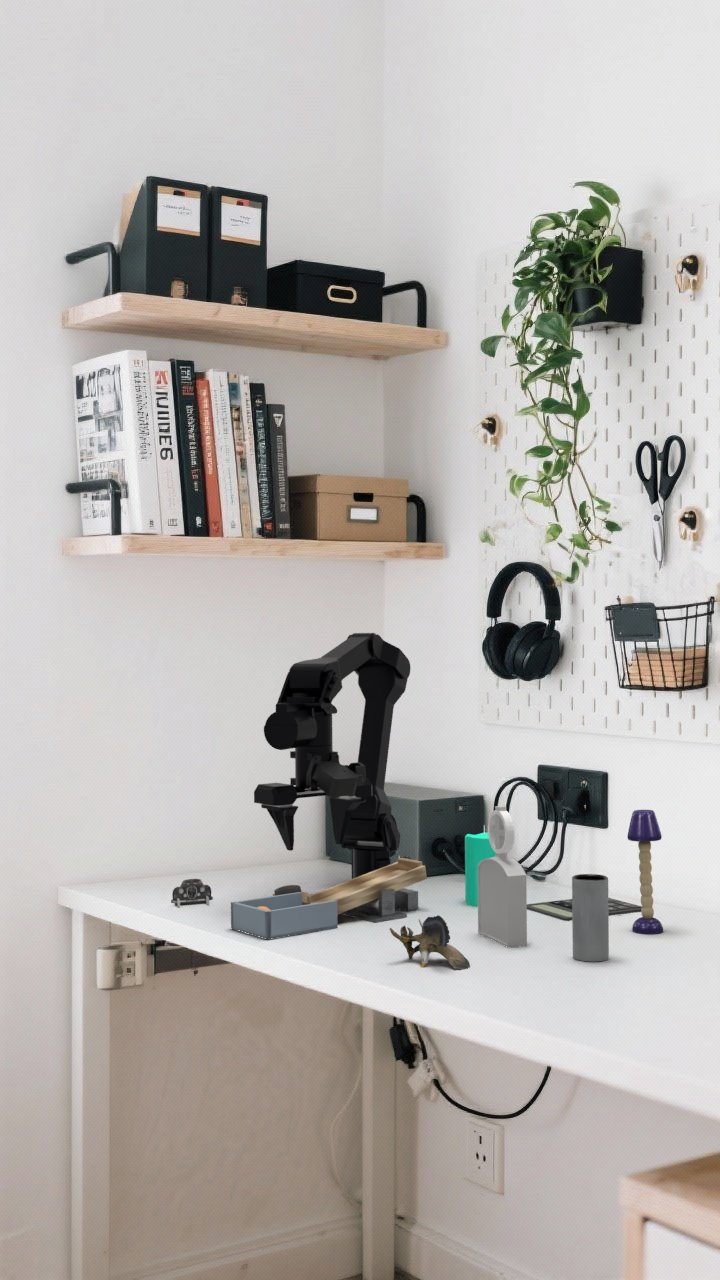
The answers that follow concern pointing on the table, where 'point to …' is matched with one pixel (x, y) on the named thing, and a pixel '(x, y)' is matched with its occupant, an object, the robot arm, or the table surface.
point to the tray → (282, 916)
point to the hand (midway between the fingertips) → (314, 847)
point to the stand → (386, 905)
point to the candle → (475, 863)
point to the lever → (364, 885)
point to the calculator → (564, 908)
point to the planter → (590, 917)
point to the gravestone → (502, 886)
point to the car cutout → (191, 893)
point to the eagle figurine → (432, 942)
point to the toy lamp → (645, 867)
